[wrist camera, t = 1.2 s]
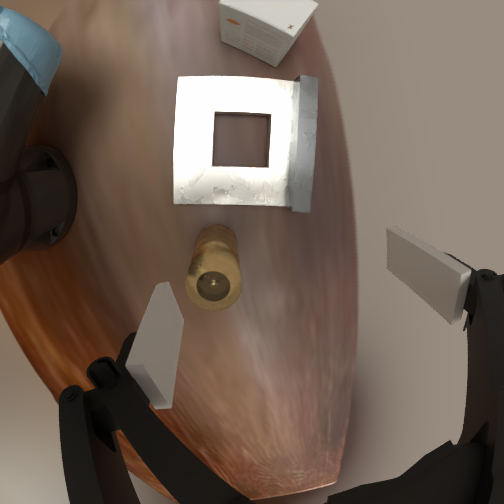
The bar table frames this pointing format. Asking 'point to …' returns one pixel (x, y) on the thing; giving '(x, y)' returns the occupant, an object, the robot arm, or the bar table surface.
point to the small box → (264, 25)
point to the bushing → (214, 269)
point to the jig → (278, 141)
